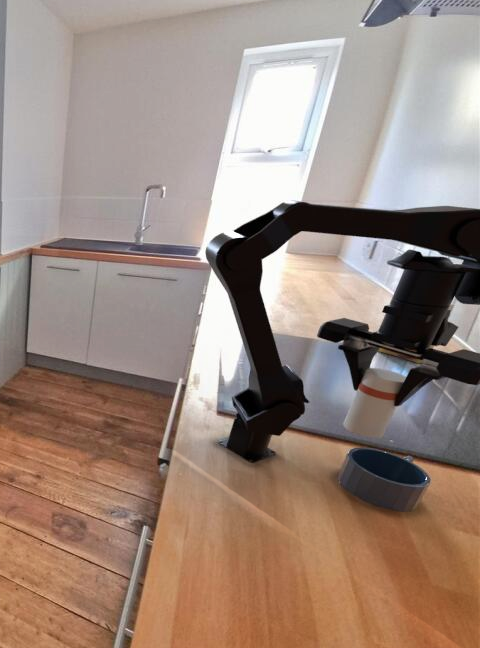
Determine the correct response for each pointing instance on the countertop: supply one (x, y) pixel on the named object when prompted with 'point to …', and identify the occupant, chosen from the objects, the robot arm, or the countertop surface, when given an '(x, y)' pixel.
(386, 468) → the blue bowl
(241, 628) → the countertop surface
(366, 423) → the white canister
